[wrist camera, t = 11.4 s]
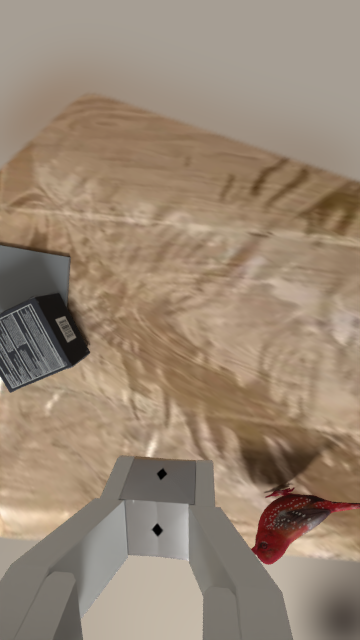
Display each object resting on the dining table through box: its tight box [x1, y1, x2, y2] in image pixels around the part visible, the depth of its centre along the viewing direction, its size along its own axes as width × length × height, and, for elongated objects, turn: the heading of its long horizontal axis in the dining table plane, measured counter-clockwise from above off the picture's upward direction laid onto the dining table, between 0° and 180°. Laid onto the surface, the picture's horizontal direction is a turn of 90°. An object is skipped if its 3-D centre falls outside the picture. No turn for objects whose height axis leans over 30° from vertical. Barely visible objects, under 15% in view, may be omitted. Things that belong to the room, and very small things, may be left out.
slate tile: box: [0, 245, 71, 313], centre depth 41 cm, size 12×18×1 cm, turn 171°
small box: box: [0, 292, 90, 393], centre depth 38 cm, size 11×6×10 cm
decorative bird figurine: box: [251, 487, 360, 564], centre depth 39 cm, size 3×18×10 cm, turn 116°
